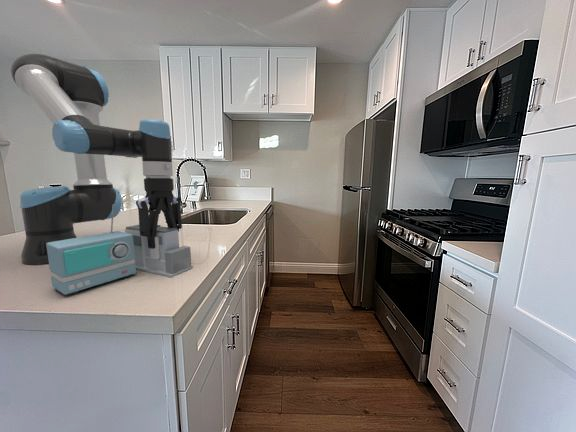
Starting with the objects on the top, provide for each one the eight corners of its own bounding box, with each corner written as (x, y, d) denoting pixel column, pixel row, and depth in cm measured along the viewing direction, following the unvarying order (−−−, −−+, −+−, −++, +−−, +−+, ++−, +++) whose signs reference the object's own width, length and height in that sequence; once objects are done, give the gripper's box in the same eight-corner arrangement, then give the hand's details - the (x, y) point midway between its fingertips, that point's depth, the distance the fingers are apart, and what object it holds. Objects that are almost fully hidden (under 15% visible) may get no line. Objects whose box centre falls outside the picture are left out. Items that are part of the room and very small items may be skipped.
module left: (126, 264, 77) (122, 227, 75) (148, 257, 84) (145, 223, 82) (142, 268, 74) (138, 229, 72) (163, 260, 81) (161, 225, 79)
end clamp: (166, 272, 71) (164, 252, 70) (185, 264, 78) (184, 245, 77) (172, 273, 70) (171, 253, 69) (191, 265, 77) (190, 246, 76)
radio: (66, 300, 57) (54, 212, 53) (52, 290, 61) (40, 208, 58) (139, 276, 70) (132, 205, 67) (122, 270, 75) (116, 202, 71)
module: (148, 257, 75) (145, 229, 73) (163, 252, 79) (161, 226, 78) (165, 260, 72) (163, 231, 71) (179, 255, 77) (178, 228, 75)
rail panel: (124, 266, 77) (123, 255, 76) (147, 258, 84) (146, 248, 84) (171, 277, 69) (170, 265, 69) (192, 268, 77) (192, 256, 76)
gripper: (137, 177, 62) (145, 267, 66) (192, 177, 79) (196, 249, 82) (117, 177, 65) (126, 263, 69) (174, 177, 82) (178, 246, 85)
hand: (164, 255), depth 76 cm, fingers closed on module, 5 cm apart
